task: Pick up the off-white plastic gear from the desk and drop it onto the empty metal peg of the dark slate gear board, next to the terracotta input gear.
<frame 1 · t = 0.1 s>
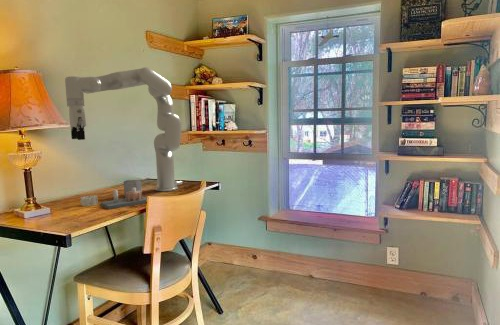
hand: (78, 139, 181), 31 cm above the table, fingers open, 9 cm apart
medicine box: (133, 197, 195), on the table
gear: (89, 204, 181), on the table
gear board: (125, 203, 180), on the table
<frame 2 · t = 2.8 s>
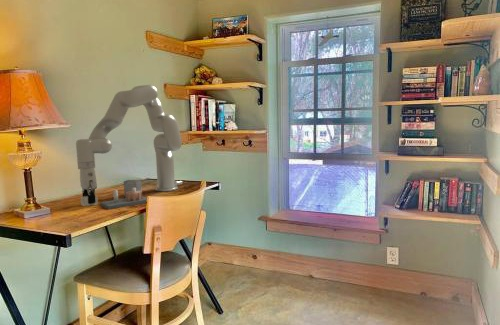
hand: (89, 201, 181), 1 cm above the table, fingers closed on gear, 7 cm apart
gear: (89, 204, 181), on the table, touching gripper
everything else where it was.
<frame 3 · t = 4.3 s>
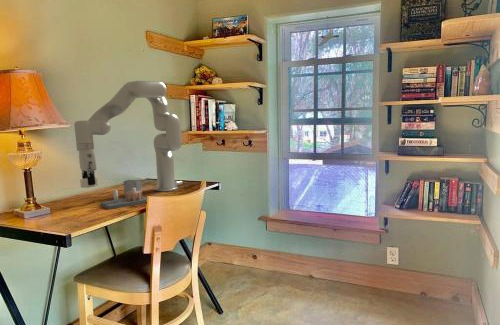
hand: (89, 183, 180), 10 cm above the table, fingers closed on gear, 7 cm apart
gear: (89, 186, 181), point 9 cm above the table, touching gripper
everything else where it was.
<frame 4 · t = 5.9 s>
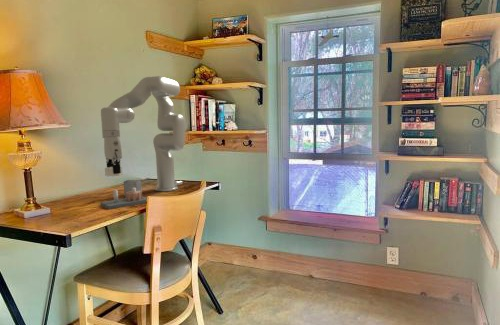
hand: (113, 172, 176), 16 cm above the table, fingers closed on gear, 7 cm apart
gear: (113, 175, 176), point 14 cm above the table, touching gripper
everything else where it was.
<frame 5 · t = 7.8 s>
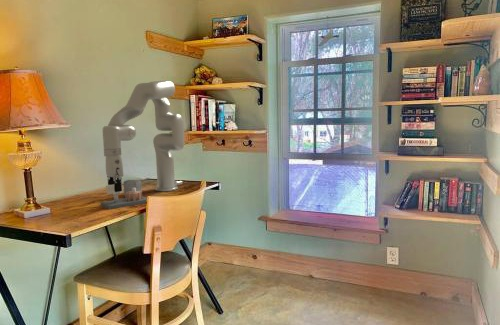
hand: (115, 190, 176), 7 cm above the table, fingers closed on gear, 7 cm apart
gear: (115, 192, 177), point 6 cm above the table, touching gripper
everything else where it was.
when the fingers open (5 cm above the table, at t = 9.1 s): gear drops 2 cm, resting on gear board.
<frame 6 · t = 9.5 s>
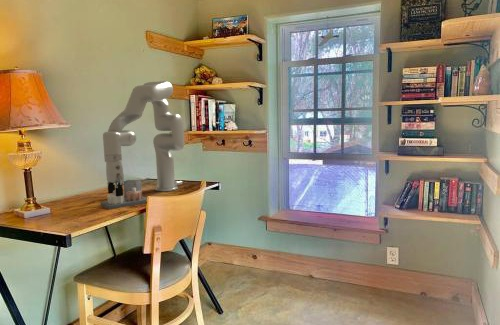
hand: (115, 194, 177), 5 cm above the table, fingers open, 9 cm apart
gear: (116, 202, 177), point 1 cm above the table, touching gear board
everything else where it was.
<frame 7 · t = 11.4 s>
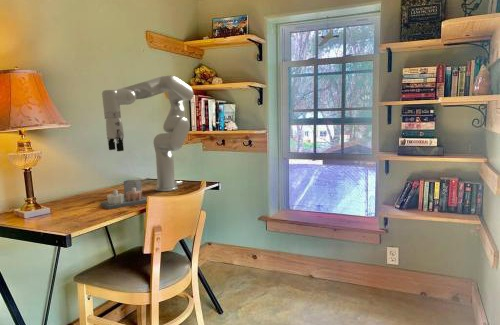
hand: (116, 150, 187), 25 cm above the table, fingers open, 9 cm apart
nothing on the table moved.
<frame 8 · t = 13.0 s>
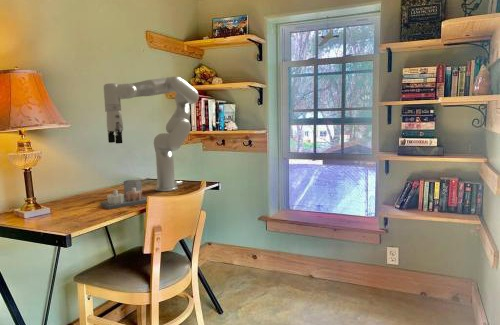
hand: (115, 142, 191), 28 cm above the table, fingers open, 9 cm apart
nothing on the table moved.
at the end: gear 0.0 cm from the target spot on the gear board, point 1.5 cm above the gear board's base; gear tilted 0°; the gripper is holding nothing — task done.
